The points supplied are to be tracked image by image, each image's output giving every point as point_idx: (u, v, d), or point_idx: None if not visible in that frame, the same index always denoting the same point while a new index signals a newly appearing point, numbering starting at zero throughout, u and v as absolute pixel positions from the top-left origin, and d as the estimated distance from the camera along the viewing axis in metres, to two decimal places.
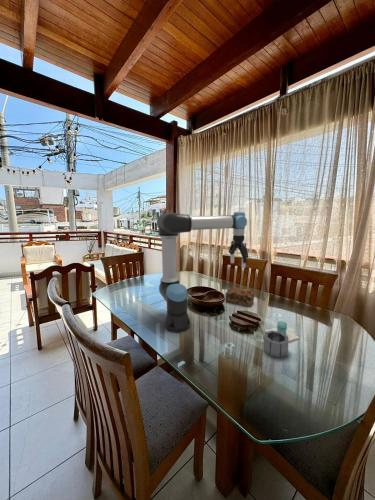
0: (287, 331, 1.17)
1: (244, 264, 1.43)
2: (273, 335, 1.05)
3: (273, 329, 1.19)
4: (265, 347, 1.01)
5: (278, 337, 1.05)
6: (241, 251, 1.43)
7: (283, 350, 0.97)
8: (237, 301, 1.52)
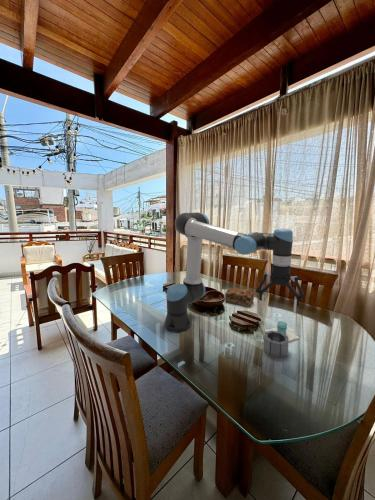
0: (287, 331, 1.17)
1: None
2: (273, 335, 1.05)
3: (273, 329, 1.19)
4: (265, 347, 1.01)
5: (278, 337, 1.05)
6: (267, 284, 1.00)
7: (283, 350, 0.97)
8: (237, 302, 1.52)
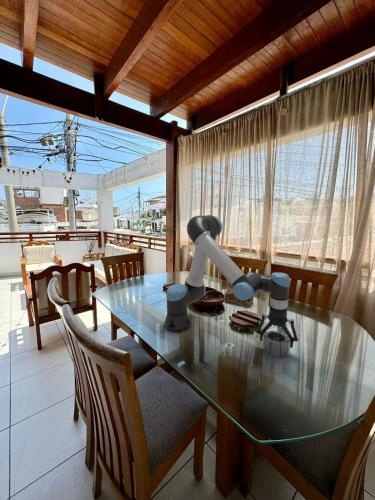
0: None
1: (262, 343, 1.04)
2: (273, 335, 1.05)
3: (273, 329, 1.19)
4: (265, 347, 1.01)
5: (278, 337, 1.05)
6: (266, 325, 1.03)
7: (283, 350, 0.97)
8: (236, 302, 1.51)
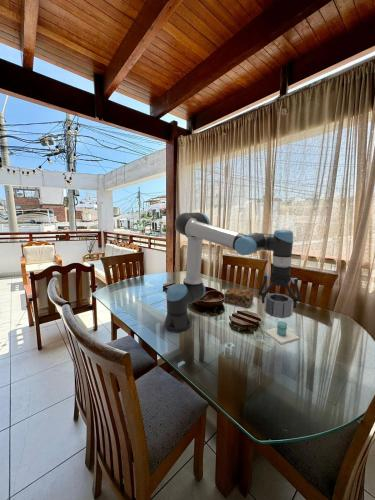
0: (287, 331, 1.17)
1: (264, 305, 1.01)
2: (275, 298, 1.02)
3: (273, 329, 1.19)
4: (267, 308, 0.98)
5: (281, 299, 1.01)
6: None
7: (286, 309, 0.93)
8: (236, 302, 1.51)
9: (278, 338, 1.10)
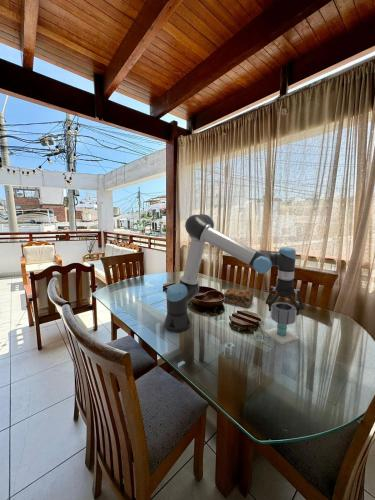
0: (287, 331, 1.17)
1: None
2: (280, 306, 1.16)
3: (273, 329, 1.19)
4: (273, 315, 1.11)
5: (285, 307, 1.15)
6: (274, 296, 1.14)
7: (290, 317, 1.07)
8: (236, 302, 1.51)
9: (278, 338, 1.10)
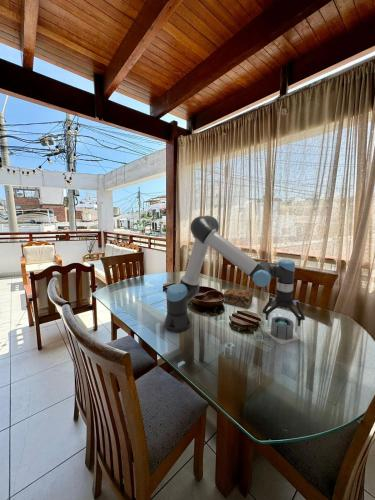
0: None
1: None
2: (279, 320, 1.17)
3: None
4: (272, 330, 1.13)
5: None
6: (272, 306, 1.15)
7: (288, 332, 1.09)
8: (235, 302, 1.50)
9: None
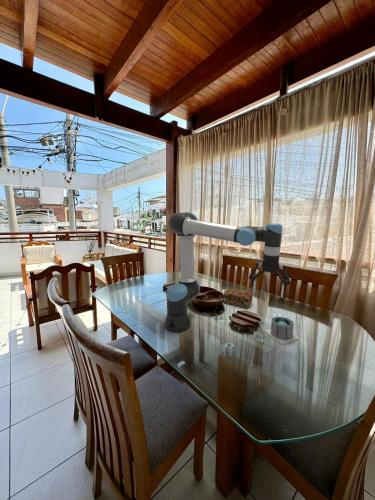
0: None
1: None
2: (279, 320, 1.17)
3: None
4: (272, 330, 1.13)
5: None
6: (258, 272, 1.13)
7: (288, 332, 1.09)
8: (235, 303, 1.50)
9: None
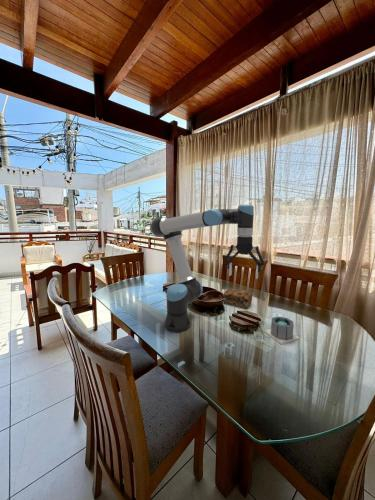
0: None
1: None
2: (279, 320, 1.17)
3: None
4: (272, 330, 1.13)
5: None
6: None
7: (288, 332, 1.09)
8: (234, 303, 1.50)
9: None
